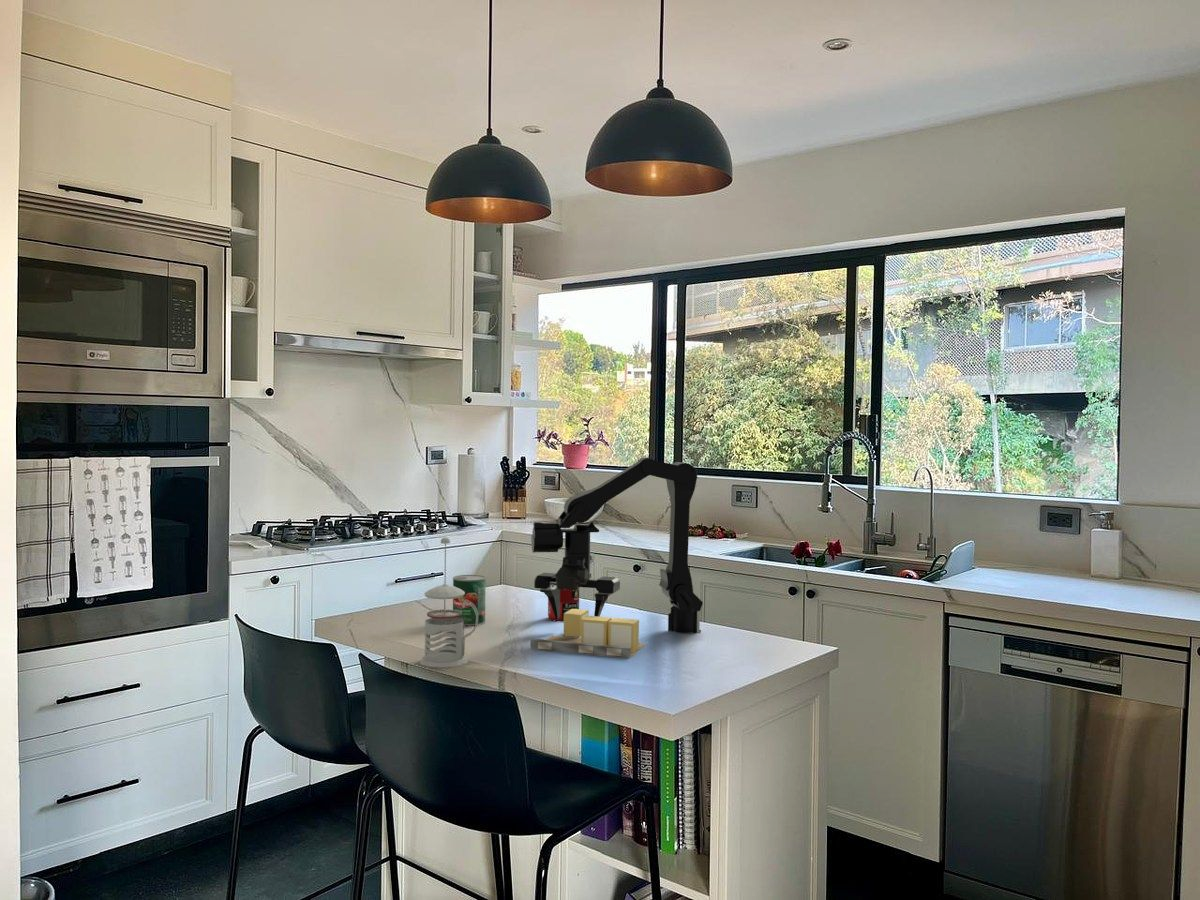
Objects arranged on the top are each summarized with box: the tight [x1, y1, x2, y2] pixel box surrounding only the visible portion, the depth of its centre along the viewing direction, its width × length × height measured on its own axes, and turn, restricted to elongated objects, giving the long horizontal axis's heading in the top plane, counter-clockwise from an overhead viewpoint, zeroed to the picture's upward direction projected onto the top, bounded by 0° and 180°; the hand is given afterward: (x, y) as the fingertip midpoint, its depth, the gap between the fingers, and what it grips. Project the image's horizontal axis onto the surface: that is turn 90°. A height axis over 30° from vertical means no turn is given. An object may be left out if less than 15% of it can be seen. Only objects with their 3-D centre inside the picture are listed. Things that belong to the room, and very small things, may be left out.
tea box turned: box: [563, 608, 589, 638], centre depth 200 cm, size 6×4×6 cm
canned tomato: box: [452, 574, 487, 626], centre depth 214 cm, size 8×8×11 cm
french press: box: [419, 537, 478, 668], centre depth 178 cm, size 10×12×25 cm
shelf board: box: [529, 635, 646, 660], centre depth 188 cm, size 22×13×3 cm, turn 73°
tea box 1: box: [580, 615, 613, 645], centre depth 188 cm, size 6×4×6 cm
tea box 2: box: [608, 617, 640, 652], centre depth 186 cm, size 6×4×6 cm
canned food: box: [547, 587, 581, 622], centre depth 220 cm, size 8×8×11 cm
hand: (576, 620), depth 200 cm, fingers open, 9 cm apart
